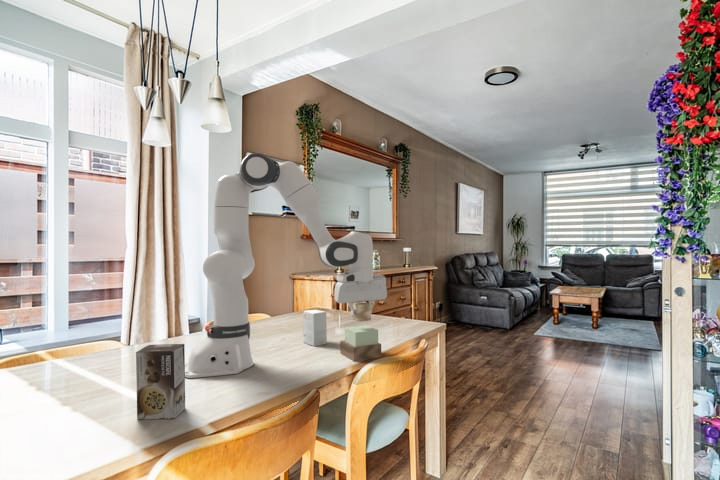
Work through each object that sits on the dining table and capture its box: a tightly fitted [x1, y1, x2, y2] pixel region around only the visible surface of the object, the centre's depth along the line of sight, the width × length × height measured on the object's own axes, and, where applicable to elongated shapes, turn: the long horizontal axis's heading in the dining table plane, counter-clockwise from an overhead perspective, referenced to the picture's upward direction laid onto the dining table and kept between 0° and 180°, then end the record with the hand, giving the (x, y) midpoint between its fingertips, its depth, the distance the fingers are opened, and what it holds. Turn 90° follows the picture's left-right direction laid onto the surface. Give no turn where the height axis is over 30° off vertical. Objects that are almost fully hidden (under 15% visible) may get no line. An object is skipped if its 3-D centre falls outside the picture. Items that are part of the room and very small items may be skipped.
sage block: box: [344, 324, 379, 347], centre depth 142 cm, size 9×9×5 cm
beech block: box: [351, 301, 372, 323], centre depth 142 cm, size 5×5×6 cm
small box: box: [302, 309, 328, 347], centre depth 159 cm, size 8×6×13 cm
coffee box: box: [135, 343, 186, 420], centre depth 94 cm, size 9×6×16 cm
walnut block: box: [339, 340, 382, 363], centre depth 142 cm, size 11×11×5 cm
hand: (361, 313), depth 142 cm, fingers closed on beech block, 5 cm apart
